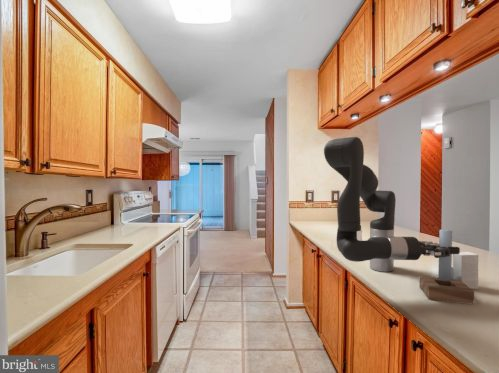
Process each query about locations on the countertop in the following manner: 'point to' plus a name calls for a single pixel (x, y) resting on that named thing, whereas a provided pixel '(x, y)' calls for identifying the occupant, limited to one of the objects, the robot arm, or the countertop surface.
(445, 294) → the socket block
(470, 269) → the skincare box
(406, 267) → the countertop surface
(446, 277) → the long pin
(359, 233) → the jar
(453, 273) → the short pin
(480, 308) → the countertop surface
